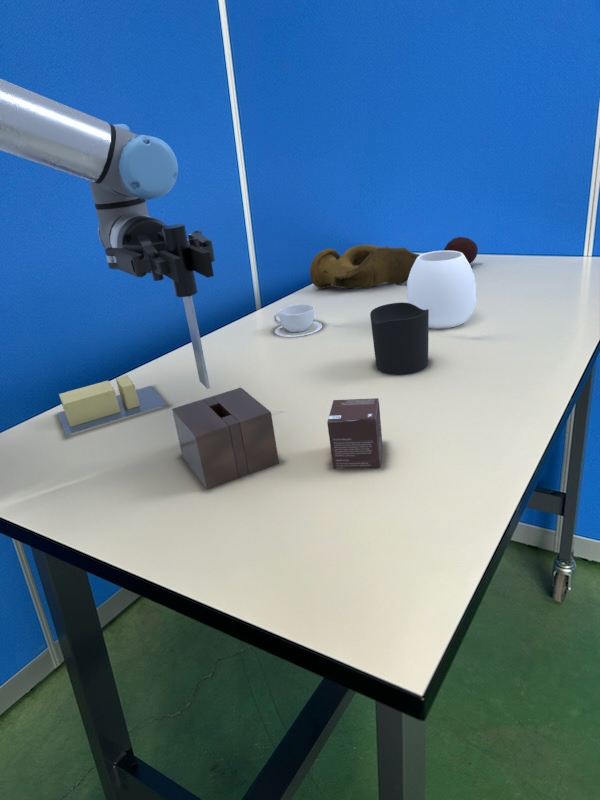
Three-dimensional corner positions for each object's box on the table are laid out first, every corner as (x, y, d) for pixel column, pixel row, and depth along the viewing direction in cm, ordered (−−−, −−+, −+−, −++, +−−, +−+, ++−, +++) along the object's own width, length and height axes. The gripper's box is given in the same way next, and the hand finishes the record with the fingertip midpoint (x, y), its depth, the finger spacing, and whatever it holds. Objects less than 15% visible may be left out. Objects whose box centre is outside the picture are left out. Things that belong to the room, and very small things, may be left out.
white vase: (396, 330, 123) (392, 262, 117) (426, 310, 132) (424, 246, 126) (459, 337, 115) (458, 265, 109) (486, 315, 124) (487, 248, 119)
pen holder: (431, 356, 109) (430, 301, 104) (428, 378, 100) (426, 319, 96) (378, 357, 111) (374, 303, 107) (370, 378, 103) (366, 321, 99)
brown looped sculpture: (370, 273, 136) (300, 250, 149) (379, 319, 145) (312, 294, 158) (421, 230, 143) (350, 212, 157) (426, 277, 152) (358, 256, 166)
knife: (198, 391, 78) (165, 229, 70) (191, 384, 81) (158, 227, 72) (218, 385, 79) (187, 225, 71) (210, 378, 82) (180, 223, 73)
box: (383, 447, 82) (380, 397, 79) (381, 471, 77) (376, 419, 74) (338, 448, 83) (332, 399, 80) (332, 472, 78) (326, 420, 75)
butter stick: (70, 427, 98) (63, 404, 96) (65, 416, 102) (58, 394, 100) (120, 411, 101) (114, 389, 99) (114, 401, 105) (108, 380, 103)
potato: (483, 267, 158) (483, 236, 154) (449, 273, 157) (448, 242, 153) (470, 261, 165) (470, 231, 162) (436, 266, 164) (436, 237, 161)
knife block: (207, 493, 77) (195, 436, 74) (183, 460, 86) (171, 408, 82) (279, 466, 81) (271, 411, 78) (249, 437, 89) (240, 387, 86)
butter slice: (127, 409, 101) (122, 387, 99) (121, 399, 105) (115, 378, 104) (140, 406, 102) (134, 383, 100) (132, 396, 106) (127, 374, 104)
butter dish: (67, 440, 96) (66, 434, 95) (59, 418, 104) (57, 412, 103) (167, 409, 102) (166, 404, 101) (151, 390, 110) (150, 385, 109)
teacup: (327, 322, 133) (324, 301, 131) (316, 338, 124) (313, 316, 122) (282, 323, 136) (279, 303, 134) (268, 339, 127) (265, 317, 125)
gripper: (200, 258, 93) (263, 285, 73) (94, 280, 87) (132, 317, 67) (190, 206, 89) (254, 220, 70) (80, 226, 84) (116, 247, 64)
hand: (194, 267), depth 69 cm, fingers closed on knife, 3 cm apart
